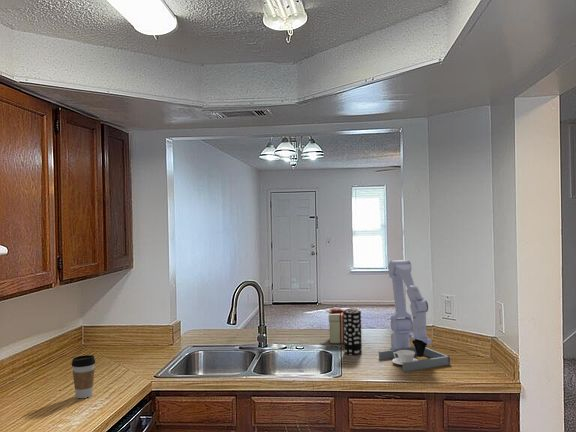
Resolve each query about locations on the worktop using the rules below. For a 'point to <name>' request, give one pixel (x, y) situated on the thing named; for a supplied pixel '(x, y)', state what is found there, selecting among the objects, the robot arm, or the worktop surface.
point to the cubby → (435, 360)
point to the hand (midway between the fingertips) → (420, 356)
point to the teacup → (404, 356)
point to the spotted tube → (352, 332)
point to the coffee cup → (83, 375)
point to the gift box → (337, 324)
